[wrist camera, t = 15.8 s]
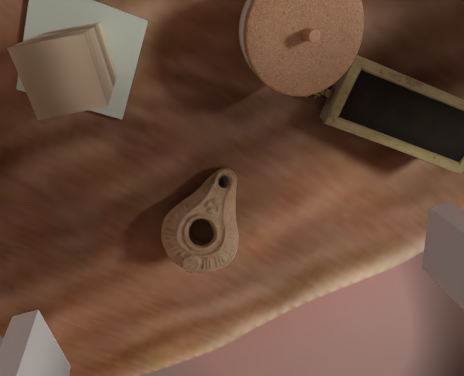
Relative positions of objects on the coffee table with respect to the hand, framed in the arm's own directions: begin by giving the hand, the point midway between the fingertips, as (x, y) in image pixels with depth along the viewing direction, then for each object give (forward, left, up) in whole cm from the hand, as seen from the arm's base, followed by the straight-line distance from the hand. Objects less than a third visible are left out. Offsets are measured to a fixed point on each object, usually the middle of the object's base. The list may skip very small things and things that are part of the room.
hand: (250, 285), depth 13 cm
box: (-6, +24, -31) cm, 40 cm away
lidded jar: (-9, +8, -31) cm, 33 cm away
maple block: (0, -9, -30) cm, 32 cm away
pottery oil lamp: (+13, +7, -31) cm, 34 cm away
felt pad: (0, -9, -31) cm, 32 cm away
